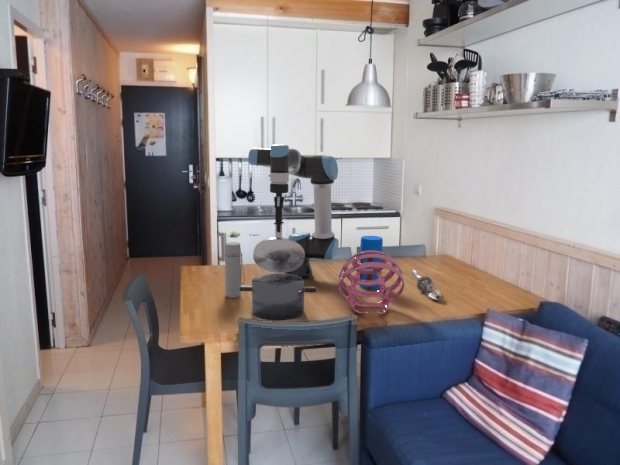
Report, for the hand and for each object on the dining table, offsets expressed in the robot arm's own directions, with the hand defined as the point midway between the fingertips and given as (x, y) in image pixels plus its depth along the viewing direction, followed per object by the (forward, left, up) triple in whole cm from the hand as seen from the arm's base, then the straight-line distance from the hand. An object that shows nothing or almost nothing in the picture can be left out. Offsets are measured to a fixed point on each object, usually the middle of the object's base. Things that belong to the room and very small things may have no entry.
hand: (278, 239), depth 215 cm
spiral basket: (-3, +40, -32) cm, 51 cm away
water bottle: (-19, -21, -32) cm, 42 cm away
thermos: (-38, +44, -32) cm, 66 cm away
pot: (+1, 0, -31) cm, 31 cm away
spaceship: (-31, +70, -32) cm, 83 cm away
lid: (-3, 0, -9) cm, 9 cm away
